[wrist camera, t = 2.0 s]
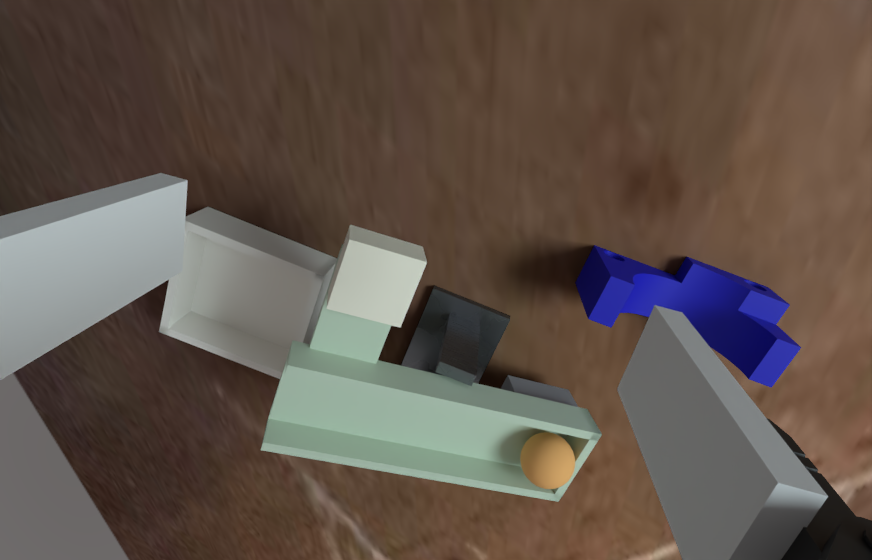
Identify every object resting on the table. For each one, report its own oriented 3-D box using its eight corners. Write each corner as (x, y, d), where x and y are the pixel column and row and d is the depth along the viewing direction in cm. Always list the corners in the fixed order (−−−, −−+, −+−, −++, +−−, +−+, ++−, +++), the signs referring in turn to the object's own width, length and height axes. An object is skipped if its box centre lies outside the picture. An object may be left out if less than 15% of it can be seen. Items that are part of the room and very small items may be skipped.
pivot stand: (386, 400, 42) (363, 465, 35) (434, 285, 38) (419, 333, 31) (454, 427, 42) (445, 497, 35) (510, 315, 38) (512, 370, 31)
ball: (504, 457, 35) (524, 500, 32) (525, 418, 34) (549, 459, 31) (545, 460, 37) (569, 502, 34) (568, 423, 35) (594, 463, 32)
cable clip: (767, 286, 35) (816, 326, 30) (730, 340, 37) (771, 387, 31) (603, 224, 35) (623, 253, 29) (574, 281, 37) (588, 319, 31)
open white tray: (185, 311, 41) (159, 331, 38) (208, 206, 38) (180, 218, 34) (306, 359, 41) (289, 382, 38) (339, 259, 38) (324, 276, 35)
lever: (273, 392, 34) (260, 450, 30) (333, 199, 29) (329, 233, 24) (535, 445, 40) (558, 501, 35) (626, 291, 35) (667, 333, 30)
